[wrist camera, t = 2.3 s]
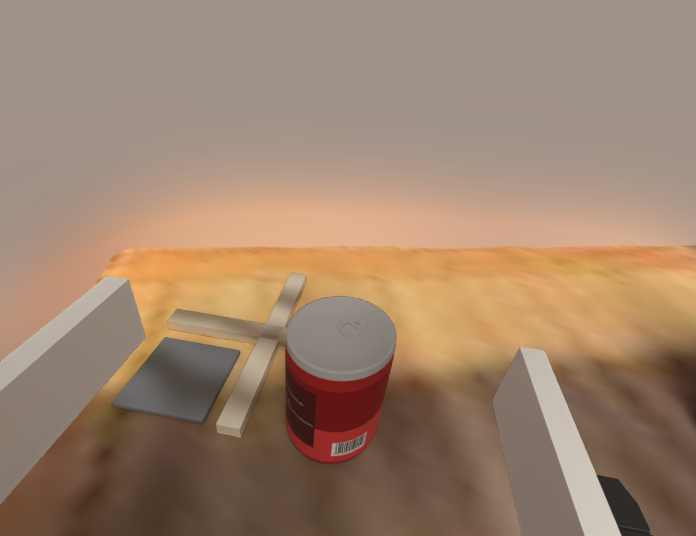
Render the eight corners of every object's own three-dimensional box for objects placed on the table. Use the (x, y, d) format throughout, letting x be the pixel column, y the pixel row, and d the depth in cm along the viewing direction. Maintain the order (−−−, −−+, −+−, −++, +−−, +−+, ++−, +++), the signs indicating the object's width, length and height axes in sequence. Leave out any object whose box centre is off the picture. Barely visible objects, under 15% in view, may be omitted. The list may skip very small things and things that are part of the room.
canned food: (389, 407, 33) (412, 317, 27) (350, 487, 27) (368, 395, 21) (317, 372, 36) (324, 282, 30) (267, 438, 30) (261, 343, 24)
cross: (218, 268, 49) (217, 260, 48) (381, 294, 47) (382, 287, 46) (102, 410, 30) (98, 401, 30) (362, 461, 29) (363, 453, 28)
